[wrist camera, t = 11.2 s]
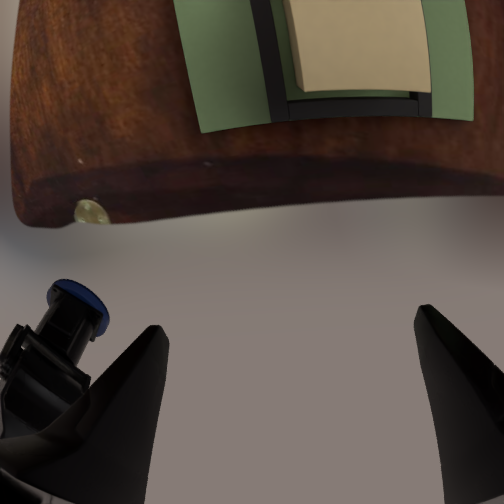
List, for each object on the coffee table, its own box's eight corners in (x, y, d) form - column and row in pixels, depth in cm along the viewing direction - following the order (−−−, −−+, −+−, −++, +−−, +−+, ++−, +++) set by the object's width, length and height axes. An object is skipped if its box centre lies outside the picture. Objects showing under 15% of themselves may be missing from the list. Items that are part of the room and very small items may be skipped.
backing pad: (204, 130, 17) (195, 139, 16) (175, -12, 12) (162, -20, 10) (466, 118, 15) (484, 126, 13) (453, -14, 9) (471, -18, 7)
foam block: (396, 83, 14) (431, 93, 10) (296, 85, 15) (304, 92, 11) (383, -8, 10) (416, -24, 7) (280, -9, 11) (281, -33, 7)
